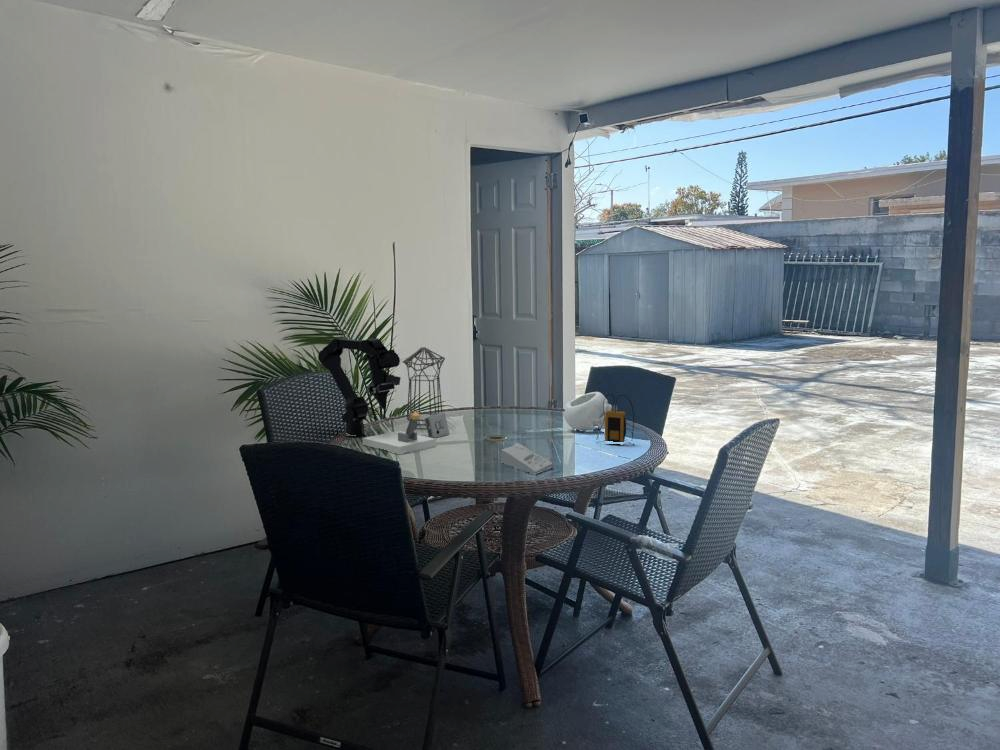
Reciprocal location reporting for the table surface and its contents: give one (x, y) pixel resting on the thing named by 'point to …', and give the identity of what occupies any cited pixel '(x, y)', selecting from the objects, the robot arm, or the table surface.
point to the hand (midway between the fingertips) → (384, 408)
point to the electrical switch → (437, 425)
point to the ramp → (524, 459)
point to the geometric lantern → (424, 380)
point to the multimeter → (615, 424)
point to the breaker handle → (412, 424)
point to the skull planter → (587, 411)
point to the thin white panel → (399, 442)
